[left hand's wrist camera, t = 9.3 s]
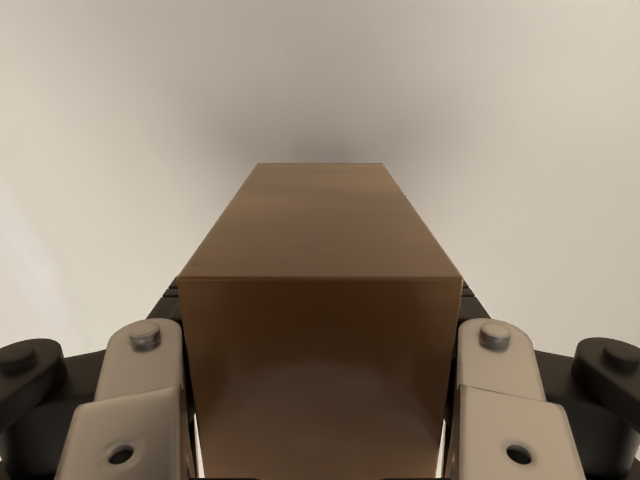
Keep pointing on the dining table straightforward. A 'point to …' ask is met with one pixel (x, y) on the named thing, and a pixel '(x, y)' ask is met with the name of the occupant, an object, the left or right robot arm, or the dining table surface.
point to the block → (320, 329)
